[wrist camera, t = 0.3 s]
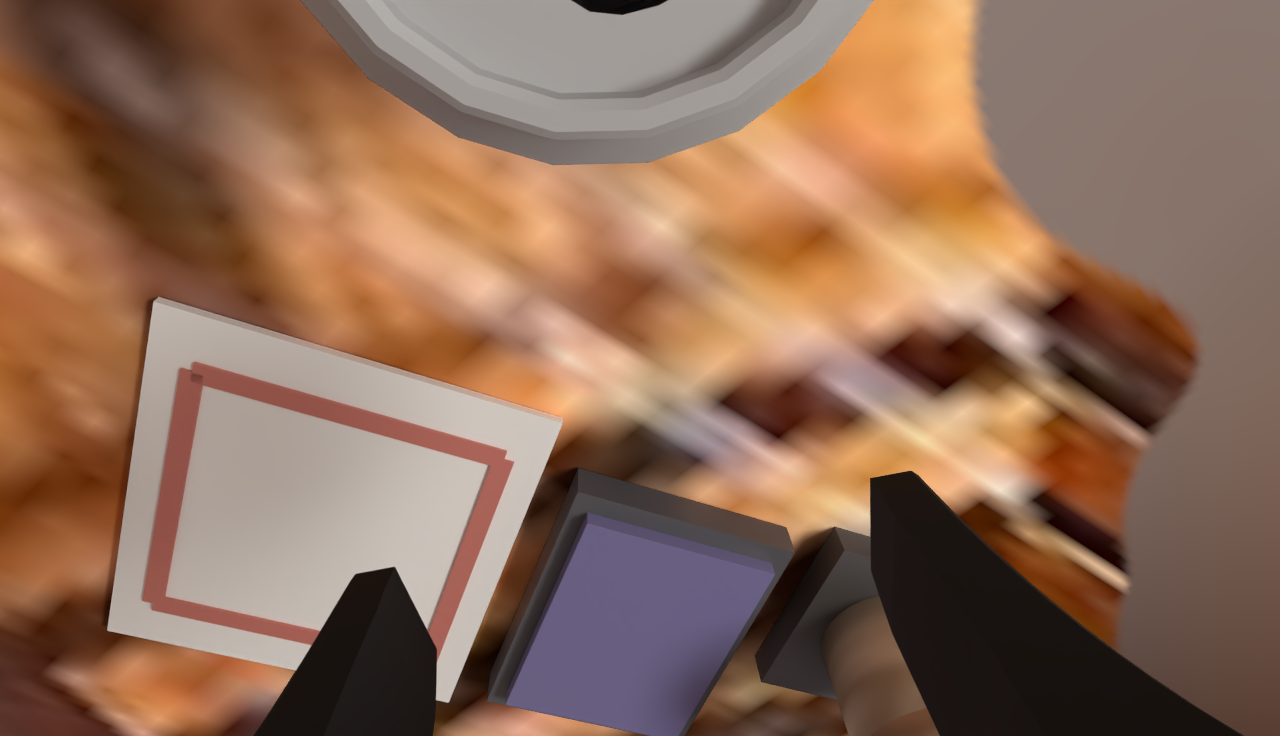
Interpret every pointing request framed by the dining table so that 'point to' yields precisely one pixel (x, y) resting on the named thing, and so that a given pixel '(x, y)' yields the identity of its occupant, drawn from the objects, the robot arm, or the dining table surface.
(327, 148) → the dining table surface
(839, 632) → the stamp
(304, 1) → the can
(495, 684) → the ink pad
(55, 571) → the dining table surface
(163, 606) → the paper
